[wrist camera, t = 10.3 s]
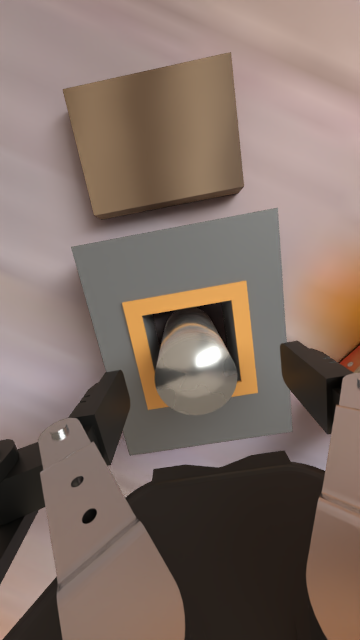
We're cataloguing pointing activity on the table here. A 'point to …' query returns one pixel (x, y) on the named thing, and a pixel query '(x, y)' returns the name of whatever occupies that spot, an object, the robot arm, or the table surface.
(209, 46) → the table surface
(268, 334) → the hole block
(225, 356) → the steel peg
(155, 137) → the brown rectangular block
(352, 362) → the cracker box
